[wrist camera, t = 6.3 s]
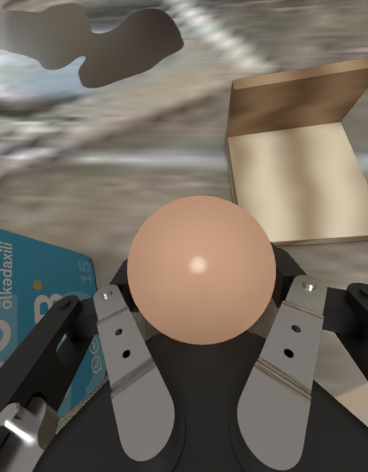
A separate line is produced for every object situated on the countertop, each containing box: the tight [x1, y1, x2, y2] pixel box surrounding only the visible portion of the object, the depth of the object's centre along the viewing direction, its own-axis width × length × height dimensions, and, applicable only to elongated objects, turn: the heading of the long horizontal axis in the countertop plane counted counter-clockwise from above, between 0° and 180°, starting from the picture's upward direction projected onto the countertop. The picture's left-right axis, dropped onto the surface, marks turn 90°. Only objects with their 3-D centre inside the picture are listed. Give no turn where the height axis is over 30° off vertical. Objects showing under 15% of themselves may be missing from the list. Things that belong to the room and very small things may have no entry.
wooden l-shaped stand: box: [225, 58, 368, 247], centre depth 16 cm, size 12×14×7 cm
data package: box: [0, 229, 107, 420], centre depth 12 cm, size 12×4×12 cm, turn 19°
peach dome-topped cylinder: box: [127, 196, 276, 345], centre depth 12 cm, size 5×5×12 cm
